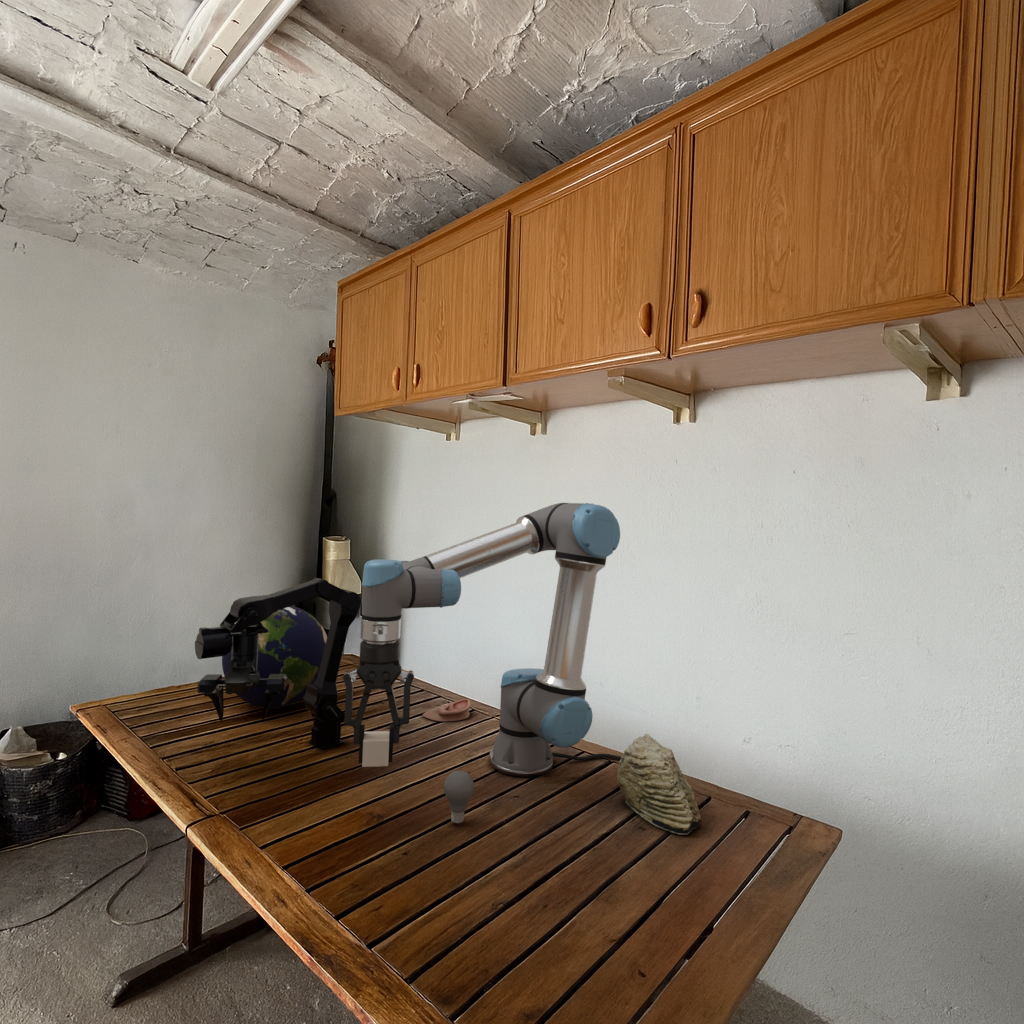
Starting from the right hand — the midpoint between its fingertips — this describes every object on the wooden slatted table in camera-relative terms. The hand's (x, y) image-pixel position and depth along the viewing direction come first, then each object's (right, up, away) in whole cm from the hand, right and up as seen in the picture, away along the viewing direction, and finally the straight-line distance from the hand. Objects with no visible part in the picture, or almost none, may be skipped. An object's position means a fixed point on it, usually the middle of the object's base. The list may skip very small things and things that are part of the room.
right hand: (375, 759), depth 123 cm
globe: (-44, -10, +66) cm, 80 cm away
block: (0, 0, 0) cm, 0 cm away
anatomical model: (+7, -12, +64) cm, 66 cm away
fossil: (+56, -15, +10) cm, 59 cm away
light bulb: (+16, -14, +3) cm, 21 cm away
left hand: (-36, -1, +25) cm, 44 cm away
